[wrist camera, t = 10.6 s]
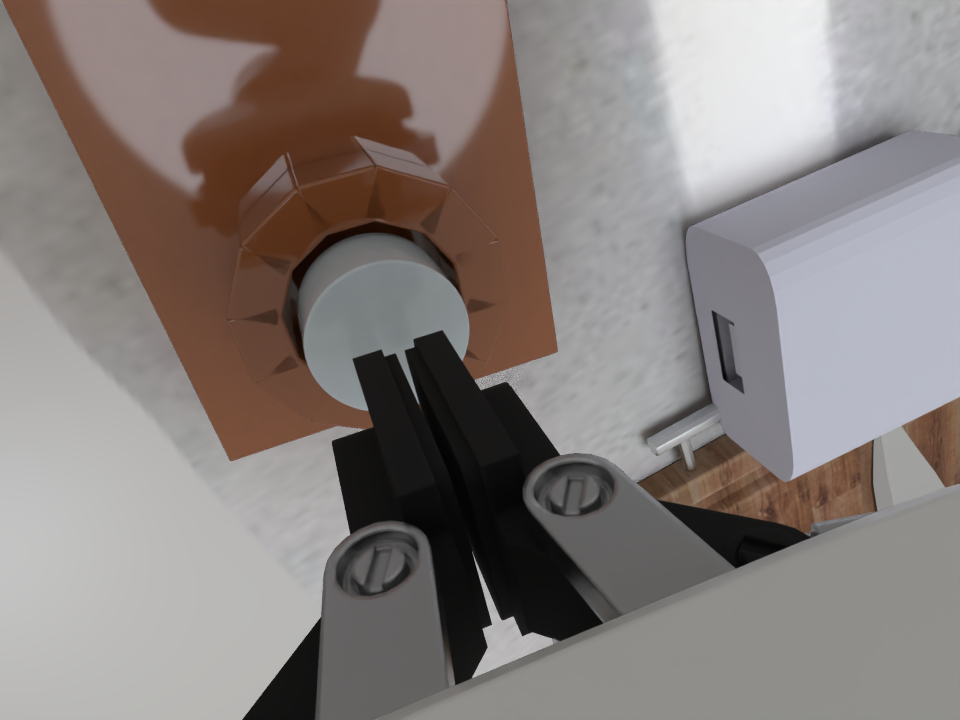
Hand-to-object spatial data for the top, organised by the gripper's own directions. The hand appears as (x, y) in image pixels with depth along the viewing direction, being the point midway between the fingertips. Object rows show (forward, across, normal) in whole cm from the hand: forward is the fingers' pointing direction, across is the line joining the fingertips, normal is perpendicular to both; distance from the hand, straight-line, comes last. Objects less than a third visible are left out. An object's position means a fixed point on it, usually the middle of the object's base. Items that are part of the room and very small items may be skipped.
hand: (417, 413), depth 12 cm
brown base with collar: (+9, 0, -2) cm, 10 cm away
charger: (+9, -19, +6) cm, 22 cm away
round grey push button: (+5, 0, 0) cm, 5 cm away
